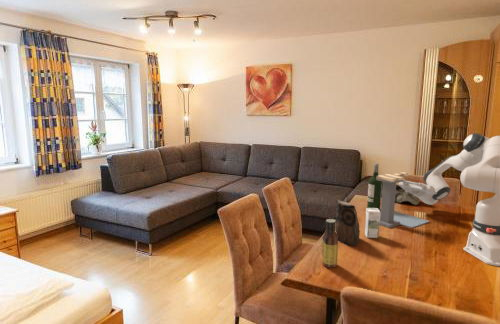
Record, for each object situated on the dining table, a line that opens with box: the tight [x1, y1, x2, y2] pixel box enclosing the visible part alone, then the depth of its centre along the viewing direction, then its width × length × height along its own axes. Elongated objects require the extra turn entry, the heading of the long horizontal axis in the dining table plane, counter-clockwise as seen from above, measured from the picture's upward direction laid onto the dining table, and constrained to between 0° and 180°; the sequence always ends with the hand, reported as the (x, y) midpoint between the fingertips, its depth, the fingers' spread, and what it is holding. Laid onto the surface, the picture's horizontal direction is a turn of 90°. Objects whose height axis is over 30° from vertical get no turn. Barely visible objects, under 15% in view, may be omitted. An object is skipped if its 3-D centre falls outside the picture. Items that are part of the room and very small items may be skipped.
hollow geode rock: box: [381, 183, 420, 206], centre depth 229 cm, size 28×13×15 cm
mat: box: [380, 210, 430, 229], centre depth 195 cm, size 18×24×1 cm
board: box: [376, 171, 409, 182], centre depth 186 cm, size 20×10×2 cm, turn 123°
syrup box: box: [364, 207, 381, 239], centre depth 168 cm, size 6×6×14 cm
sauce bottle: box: [321, 218, 339, 269], centre depth 138 cm, size 6×6×20 cm
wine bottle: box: [366, 162, 383, 211], centre depth 211 cm, size 8×8×30 cm
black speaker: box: [334, 199, 361, 247], centre depth 163 cm, size 13×13×20 cm
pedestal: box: [376, 178, 403, 229], centre depth 185 cm, size 10×10×26 cm
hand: (410, 182), depth 195 cm, fingers open, 8 cm apart
